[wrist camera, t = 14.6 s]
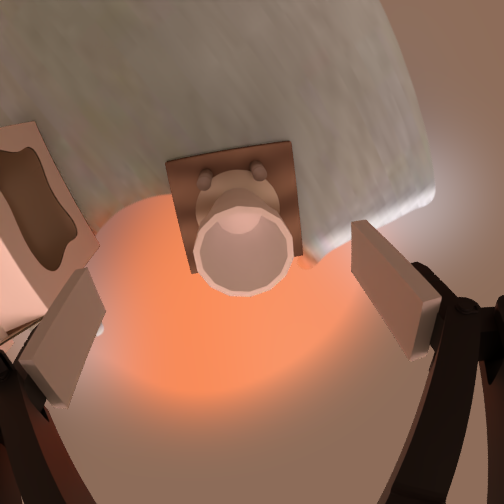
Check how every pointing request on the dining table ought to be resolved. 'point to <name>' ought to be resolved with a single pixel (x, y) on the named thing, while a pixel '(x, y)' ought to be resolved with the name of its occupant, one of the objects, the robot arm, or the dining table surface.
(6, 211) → the gable box
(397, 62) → the dining table surface
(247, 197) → the foam cup
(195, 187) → the pin board
